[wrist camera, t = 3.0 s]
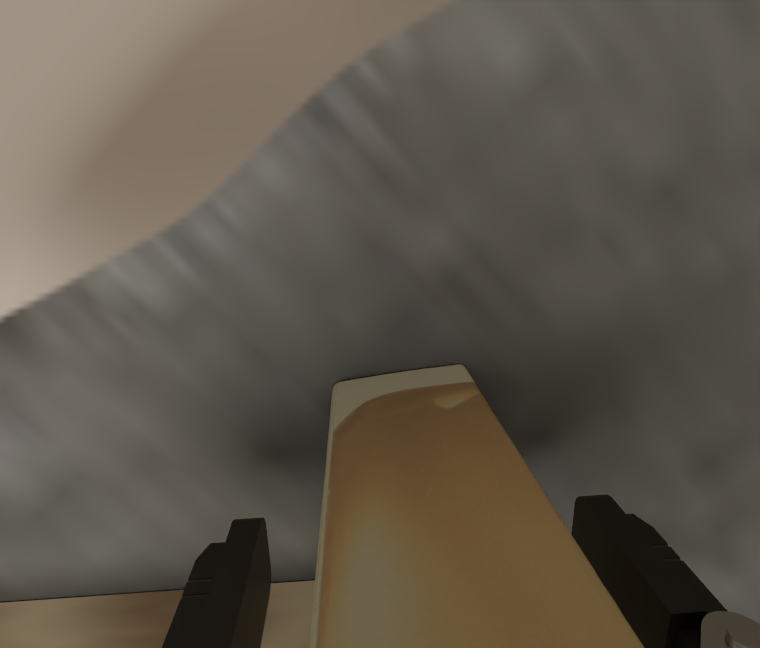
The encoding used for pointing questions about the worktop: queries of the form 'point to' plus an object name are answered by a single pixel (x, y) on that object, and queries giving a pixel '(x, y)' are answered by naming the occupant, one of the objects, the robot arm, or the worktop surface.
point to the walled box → (140, 619)
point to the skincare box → (444, 529)
